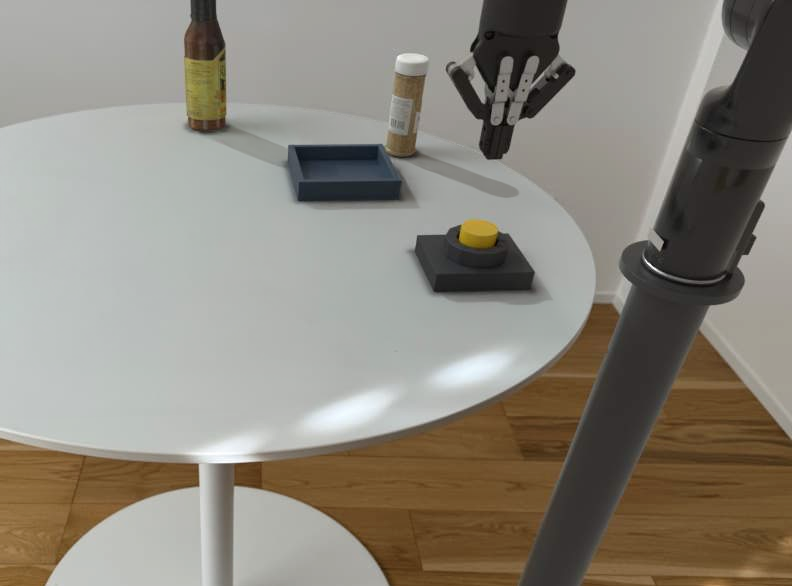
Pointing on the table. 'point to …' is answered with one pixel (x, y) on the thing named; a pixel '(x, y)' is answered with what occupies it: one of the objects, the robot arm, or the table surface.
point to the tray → (343, 172)
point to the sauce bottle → (205, 68)
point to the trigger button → (478, 234)
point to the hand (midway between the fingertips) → (492, 156)
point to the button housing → (472, 263)
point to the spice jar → (406, 104)
